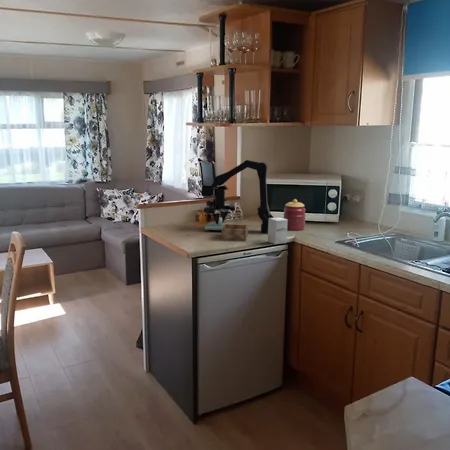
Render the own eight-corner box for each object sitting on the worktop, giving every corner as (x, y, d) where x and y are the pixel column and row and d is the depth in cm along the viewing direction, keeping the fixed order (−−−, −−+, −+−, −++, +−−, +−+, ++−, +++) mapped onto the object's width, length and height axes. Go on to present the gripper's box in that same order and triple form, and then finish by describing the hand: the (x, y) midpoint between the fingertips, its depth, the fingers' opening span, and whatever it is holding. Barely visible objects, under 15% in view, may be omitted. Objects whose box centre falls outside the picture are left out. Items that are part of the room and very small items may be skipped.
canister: (305, 226, 287) (306, 197, 283) (304, 231, 275) (306, 201, 271) (283, 225, 289) (284, 197, 286) (282, 230, 277) (283, 200, 273)
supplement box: (275, 244, 243) (275, 220, 241) (267, 241, 250) (268, 217, 247) (287, 243, 247) (288, 219, 244) (279, 240, 253) (279, 216, 250)
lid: (233, 225, 282) (233, 215, 280) (230, 230, 267) (230, 220, 266) (208, 224, 284) (208, 214, 282) (204, 229, 269) (204, 219, 268)
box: (247, 235, 262) (247, 224, 261) (245, 241, 250) (245, 229, 249) (224, 234, 264) (224, 223, 263) (221, 239, 251) (221, 228, 250)
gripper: (224, 194, 284) (223, 219, 287) (198, 196, 272) (198, 223, 276) (235, 196, 275) (235, 222, 278) (209, 199, 264) (209, 226, 267)
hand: (219, 223), depth 275 cm, fingers closed on lid, 3 cm apart
